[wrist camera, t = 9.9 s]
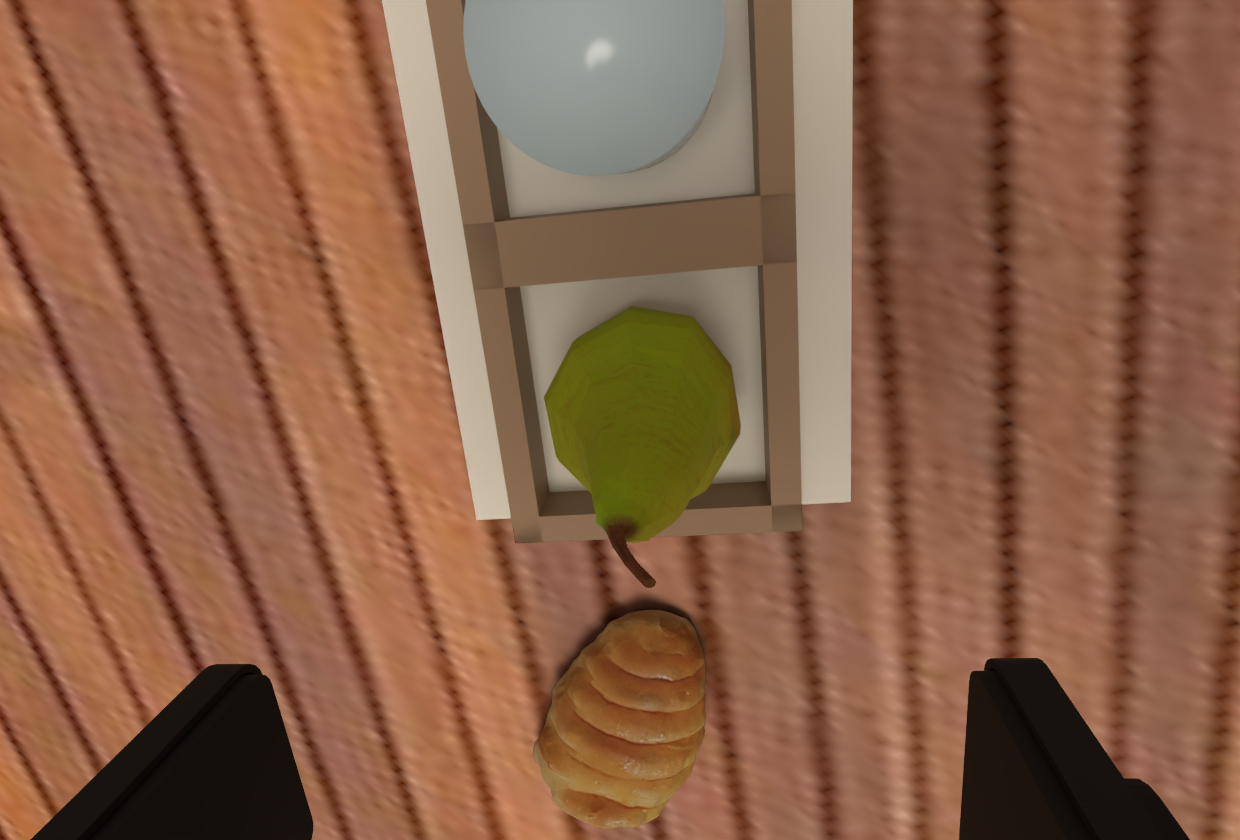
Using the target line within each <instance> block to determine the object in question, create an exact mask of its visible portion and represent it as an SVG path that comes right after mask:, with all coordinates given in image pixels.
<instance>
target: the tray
mask: <svg viewBox="0 0 1240 840" xmlns="http://www.w3.org/2000/svg"><path fill="white" fill-rule="evenodd" d="M722 1H723V10H724V19H725V27H724V46H723V54H722V60H721V64H720V68H719V72H718V76H717V80H716V83H715V87H714V90H713V94H712V97H711V101H710V103H709V106H708V109H707V111H706V114H705V116H704V118H703V119H702V121H701V123H700V125H699V127H698V128H697V129H696V131H695V132H694V134H693V135H692V137H691V138H690V139H689V140H688V141H687V142H686V143H685V144H684V146H683V147H681V148H680V149H679V150H678V151H677V152H676V153H675V154H673V155H672V156H670V157H669V158H667V159H666V160H664V161H663V162H661V163H659V164H657V165H655V166H653V167H650V168H647V169H644V170H641V171H637V172H632V173H625V174H614V175H600V176H586V175H577V174H571V173H567V172H563V171H559V170H556V169H553V168H551V167H548V166H546V165H543V164H542V163H540V162H538V161H536V160H534V159H533V158H531V157H529V156H528V155H526V154H525V153H524V152H522V151H521V150H520V149H518V148H517V147H516V146H514V145H513V144H512V143H511V142H510V141H509V140H508V139H507V138H506V137H505V136H504V135H503V134H502V133H501V131H500V130H499V129H498V128H497V126H496V125H495V124H494V123H493V121H492V120H491V118H490V117H489V115H488V114H487V112H486V110H485V109H484V107H483V106H482V103H481V101H480V99H479V97H478V95H477V93H476V91H475V88H474V85H473V82H472V79H471V76H470V73H469V69H468V65H467V60H466V55H465V47H464V36H463V27H464V10H465V2H466V0H382V3H383V9H384V14H385V20H386V25H387V31H388V36H389V42H390V47H391V52H392V58H393V63H394V69H395V74H396V80H397V85H398V91H399V96H400V102H401V107H402V113H403V118H404V124H405V129H406V135H407V140H408V146H409V151H410V157H411V162H412V168H413V173H414V179H415V184H416V190H417V195H418V201H419V206H420V212H421V217H422V223H423V228H424V234H425V239H426V244H427V250H428V255H429V261H430V266H431V272H432V277H433V283H434V288H435V294H436V299H437V305H438V310H439V316H440V321H441V327H442V332H443V338H444V343H445V349H446V354H447V360H448V365H449V371H450V376H451V382H452V387H453V393H454V398H455V404H456V409H457V415H458V420H459V426H460V431H461V436H462V442H463V447H464V453H465V458H466V464H467V469H468V475H469V480H470V486H471V491H472V497H473V502H474V508H475V513H476V519H477V520H486V519H507V518H511V521H512V527H513V533H514V539H515V543H533V542H556V541H579V540H602V539H609V537H608V535H607V533H606V532H605V531H604V529H603V528H602V527H601V526H599V525H598V524H597V523H596V513H595V509H594V505H593V501H592V494H591V493H590V492H589V491H588V490H587V489H586V488H585V487H584V486H583V485H582V484H581V483H580V482H579V481H578V480H577V479H576V478H575V477H574V476H573V475H572V474H571V473H570V472H569V471H568V470H567V469H566V468H565V467H564V466H563V465H562V464H561V463H560V462H559V460H558V459H557V457H556V454H555V449H554V445H553V440H552V435H551V430H550V425H549V420H548V416H547V411H546V406H545V401H544V396H545V394H546V392H547V390H548V388H549V386H550V384H551V382H552V380H553V378H554V376H555V374H556V373H557V371H558V369H559V367H560V365H561V363H562V361H563V359H564V357H565V355H566V353H567V351H568V350H569V348H570V346H571V344H572V342H573V341H574V340H576V339H577V338H578V337H580V336H581V335H583V334H585V333H586V332H588V331H590V330H592V329H593V328H595V327H597V326H598V325H600V324H602V323H603V322H605V321H607V320H609V319H610V318H612V317H614V316H615V315H617V314H619V313H621V312H622V311H624V310H626V309H627V308H629V307H631V306H635V307H641V308H647V309H653V310H659V311H664V312H670V313H676V314H682V315H687V316H693V317H694V318H695V319H696V321H697V322H698V323H699V325H700V326H701V327H702V328H703V330H704V331H705V332H706V334H707V335H708V336H709V337H710V339H711V340H712V341H713V343H714V344H715V345H716V346H717V348H718V349H719V350H720V352H721V353H722V354H723V355H724V357H725V358H726V359H727V361H728V362H729V363H730V364H731V366H732V373H733V379H734V385H735V392H736V398H737V404H738V410H739V417H740V423H741V428H740V435H739V437H738V438H737V440H736V442H735V444H734V445H733V447H732V449H731V450H730V452H729V454H728V455H727V457H726V459H725V461H724V462H723V464H722V466H721V467H720V469H719V471H718V472H717V474H716V476H715V478H714V479H713V481H712V483H711V484H710V486H709V487H708V488H707V490H706V491H705V492H703V493H701V494H699V495H698V496H696V497H694V498H692V499H691V500H690V501H689V503H688V505H687V506H686V508H685V510H684V512H683V513H682V515H681V516H680V517H679V518H678V519H677V520H676V521H675V522H674V523H673V524H672V525H670V526H669V527H667V528H666V529H664V530H663V531H661V532H660V533H658V534H657V535H655V536H654V537H671V536H694V535H717V534H740V533H763V532H786V531H802V504H820V503H841V502H851V332H852V98H853V0H722Z"/></svg>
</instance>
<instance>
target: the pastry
mask: <svg viewBox="0 0 1240 840" xmlns="http://www.w3.org/2000/svg"><path fill="white" fill-rule="evenodd" d="M705 681H706V676H705V658H704V654H703V650H702V648H701V645H700V642H699V639H698V636H697V633H696V630H695V628H694V627H693V625H692V624H691V623H690V622H689V621H688V620H687V619H686V618H683V617H680V616H677V615H675V614H672V613H669V612H666V611H662V610H641V611H634V612H629V613H627V614H625V615H624V616H622V617H620V618H618V619H615V620H613V621H611V622H609V624H608V625H607V626H606V628H605V629H604V630H603V632H601V633H600V634H599V635H598V636H597V638H596V640H595V641H594V642H593V643H591V644H589V645H588V646H586V647H585V648H584V649H583V650H582V651H581V653H580V655H579V656H578V657H577V658H576V659H575V660H573V662H572V664H571V666H570V668H569V669H568V671H567V672H566V673H565V674H564V675H563V677H562V678H561V679H559V680H558V682H557V683H556V685H555V686H554V688H553V691H552V696H553V697H552V705H551V707H550V709H549V711H548V714H547V718H546V722H545V725H544V727H543V729H542V731H541V733H540V735H539V738H538V739H537V740H536V742H535V744H534V747H533V754H534V758H535V760H536V763H537V764H538V766H539V767H540V769H541V772H542V776H543V779H544V781H545V783H546V784H547V785H548V786H549V788H550V790H551V793H552V797H553V799H554V801H555V802H556V803H557V804H558V806H559V807H560V808H561V809H562V810H564V811H565V812H566V813H568V814H570V815H572V816H573V817H575V818H577V819H578V820H581V821H584V822H586V823H588V824H591V825H594V826H596V827H599V828H603V829H607V828H616V827H620V826H624V827H632V828H635V827H638V826H640V825H642V824H644V823H646V822H649V821H651V820H652V819H654V818H656V817H658V816H659V814H660V812H661V810H662V809H663V808H664V806H665V805H666V803H667V802H668V800H669V798H670V797H671V796H672V795H673V794H674V793H675V792H676V791H677V789H678V788H679V786H681V785H682V784H683V783H684V782H685V781H686V779H687V778H688V777H689V775H690V774H691V772H692V768H693V764H694V761H695V757H696V753H697V751H698V749H699V747H700V745H701V743H702V741H703V738H704V733H705V730H704V725H705Z"/></svg>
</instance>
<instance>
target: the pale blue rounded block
mask: <svg viewBox="0 0 1240 840" xmlns="http://www.w3.org/2000/svg"><path fill="white" fill-rule="evenodd" d="M724 27H725V19H724V10H723V1H722V0H466V2H465V10H464V27H463V36H464V47H465V55H466V60H467V65H468V69H469V73H470V76H471V79H472V82H473V85H474V88H475V91H476V93H477V95H478V97H479V99H480V101H481V103H482V106H483V107H484V109H485V110H486V112H487V114H488V115H489V117H490V118H491V120H492V121H493V123H494V124H495V125H496V126H497V128H498V129H499V130H500V131H501V133H502V134H503V135H504V136H505V137H506V138H507V139H508V140H509V141H510V142H511V143H512V144H513V145H514V146H516V147H517V148H518V149H520V150H521V151H522V152H524V153H525V154H526V155H528V156H529V157H531V158H533V159H534V160H536V161H538V162H540V163H542V164H543V165H546V166H548V167H551V168H553V169H556V170H559V171H563V172H567V173H571V174H577V175H586V176H600V175H614V174H625V173H632V172H637V171H641V170H644V169H647V168H650V167H653V166H655V165H657V164H659V163H661V162H663V161H664V160H666V159H667V158H669V157H670V156H672V155H673V154H675V153H676V152H677V151H678V150H679V149H680V148H681V147H683V146H684V144H685V143H686V142H687V141H688V140H689V139H690V138H691V137H692V135H693V134H694V132H695V131H696V129H697V128H698V127H699V125H700V123H701V121H702V119H703V118H704V116H705V114H706V111H707V109H708V106H709V103H710V101H711V97H712V94H713V90H714V87H715V83H716V80H717V76H718V72H719V68H720V64H721V60H722V54H723V46H724Z"/></svg>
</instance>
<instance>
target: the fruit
mask: <svg viewBox="0 0 1240 840" xmlns="http://www.w3.org/2000/svg"><path fill="white" fill-rule="evenodd" d="M544 401H545V406H546V411H547V416H548V420H549V425H550V430H551V435H552V440H553V445H554V449H555V454H556V457H557V459H558V460H559V462H560V463H561V464H562V465H563V466H564V467H565V468H566V469H567V470H568V471H569V472H570V473H571V474H572V475H573V476H574V477H575V478H576V479H577V480H578V481H579V482H580V483H581V484H582V485H583V486H584V487H585V488H586V489H587V490H588V491H589V492H590V493H591V494H592V501H593V505H594V509H595V513H596V523H597V524H598V525H599V526H601V527H602V528H603V529H604V531H605V532H606V533H607V535H608V537H609V540H610V542H611V544H612V546H613V548H614V549H615V551H616V552H617V554H618V555H619V557H620V558H621V560H622V561H623V563H624V564H625V565H626V567H627V568H628V569H629V570H630V571H631V572H632V573H633V574H634V575H635V577H636V578H637V579H638V580H639V581H640V582H641V583H642V584H643V585H644V586H645V587H647V588H652V587H654V586H655V583H656V581H655V580H654V579H653V578H652V577H651V576H650V575H649V574H648V573H647V572H646V571H645V570H644V569H643V568H642V567H641V566H640V565H639V564H638V563H637V561H636V560H635V558H634V557H633V555H632V554H631V552H630V551H629V549H628V548H627V544H626V541H627V542H640V541H647V540H650V539H651V538H652V537H654V536H655V535H657V534H658V533H660V532H661V531H663V530H664V529H666V528H667V527H669V526H670V525H672V524H673V523H674V522H675V521H676V520H677V519H678V518H679V517H680V516H681V515H682V513H683V512H684V510H685V508H686V506H687V505H688V503H689V501H690V500H691V499H692V498H694V497H696V496H698V495H699V494H701V493H703V492H705V491H706V490H707V488H708V487H709V486H710V484H711V483H712V481H713V479H714V478H715V476H716V474H717V472H718V471H719V469H720V467H721V466H722V464H723V462H724V461H725V459H726V457H727V455H728V454H729V452H730V450H731V449H732V447H733V445H734V444H735V442H736V440H737V438H738V437H739V435H740V428H741V423H740V417H739V410H738V404H737V398H736V392H735V385H734V379H733V373H732V366H731V364H730V363H729V362H728V361H727V359H726V358H725V357H724V355H723V354H722V353H721V352H720V350H719V349H718V348H717V346H716V345H715V344H714V343H713V341H712V340H711V339H710V337H709V336H708V335H707V334H706V332H705V331H704V330H703V328H702V327H701V326H700V325H699V323H698V322H697V321H696V319H695V318H694V317H693V316H687V315H682V314H676V313H670V312H664V311H659V310H653V309H647V308H641V307H635V306H631V307H629V308H627V309H626V310H624V311H622V312H621V313H619V314H617V315H615V316H614V317H612V318H610V319H609V320H607V321H605V322H603V323H602V324H600V325H598V326H597V327H595V328H593V329H592V330H590V331H588V332H586V333H585V334H583V335H581V336H580V337H578V338H577V339H576V340H574V341H573V342H572V344H571V346H570V348H569V350H568V351H567V353H566V355H565V357H564V359H563V361H562V363H561V365H560V367H559V369H558V371H557V373H556V374H555V376H554V378H553V380H552V382H551V384H550V386H549V388H548V390H547V392H546V394H545V396H544Z"/></svg>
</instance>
